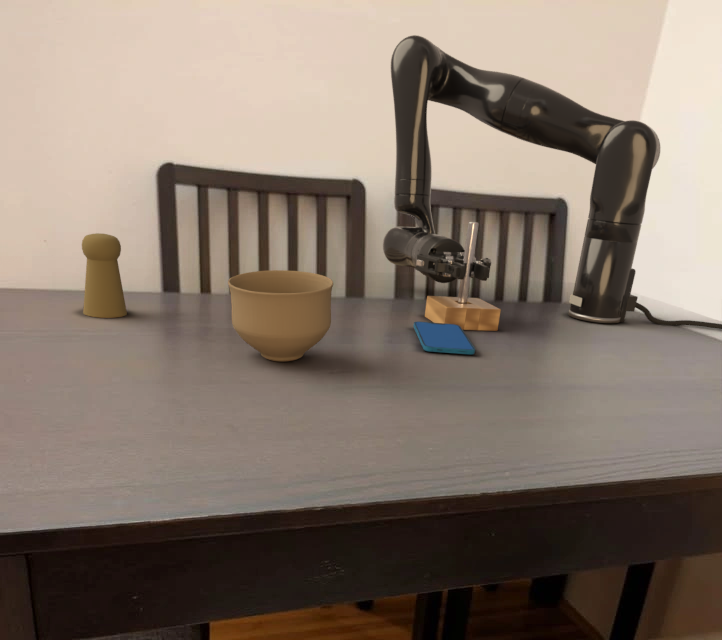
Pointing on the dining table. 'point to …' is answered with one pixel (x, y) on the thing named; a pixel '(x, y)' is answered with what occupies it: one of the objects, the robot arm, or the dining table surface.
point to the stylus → (468, 262)
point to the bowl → (281, 311)
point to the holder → (463, 313)
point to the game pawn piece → (103, 277)
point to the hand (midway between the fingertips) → (474, 273)
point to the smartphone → (443, 338)
